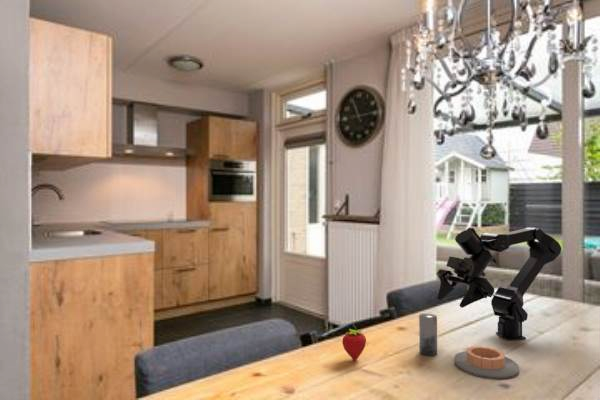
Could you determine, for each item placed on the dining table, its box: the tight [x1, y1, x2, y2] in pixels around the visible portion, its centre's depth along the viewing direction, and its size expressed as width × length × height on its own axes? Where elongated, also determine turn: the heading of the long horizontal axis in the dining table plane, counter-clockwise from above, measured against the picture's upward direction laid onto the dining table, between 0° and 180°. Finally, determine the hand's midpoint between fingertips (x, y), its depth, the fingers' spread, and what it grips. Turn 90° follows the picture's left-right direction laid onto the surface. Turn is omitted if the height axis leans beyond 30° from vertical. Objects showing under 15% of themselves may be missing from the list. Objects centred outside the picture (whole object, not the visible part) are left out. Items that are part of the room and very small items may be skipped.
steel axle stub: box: [418, 313, 438, 357], centre depth 115 cm, size 5×5×11 cm
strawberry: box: [342, 325, 367, 361], centre depth 111 cm, size 6×8×10 cm
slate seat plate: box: [453, 345, 520, 380], centre depth 106 cm, size 16×16×4 cm
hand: (449, 303), depth 119 cm, fingers open, 9 cm apart
